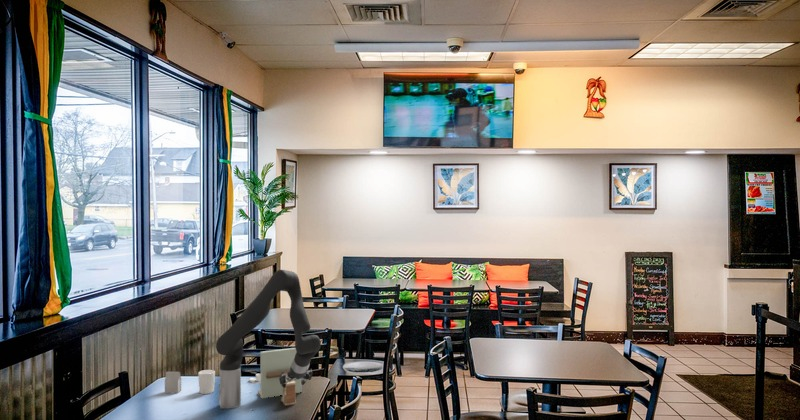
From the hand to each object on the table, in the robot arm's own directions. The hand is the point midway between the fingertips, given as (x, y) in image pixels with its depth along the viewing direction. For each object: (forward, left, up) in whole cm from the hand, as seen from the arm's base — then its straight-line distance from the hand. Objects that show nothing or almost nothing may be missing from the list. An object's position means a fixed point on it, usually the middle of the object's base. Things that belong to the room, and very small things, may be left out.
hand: (293, 384), depth 256 cm
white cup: (-32, +43, -11) cm, 54 cm away
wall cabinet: (0, +8, -11) cm, 13 cm away
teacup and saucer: (-5, +52, -11) cm, 53 cm away
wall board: (0, +22, -11) cm, 25 cm away
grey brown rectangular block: (-47, +51, -11) cm, 70 cm away
